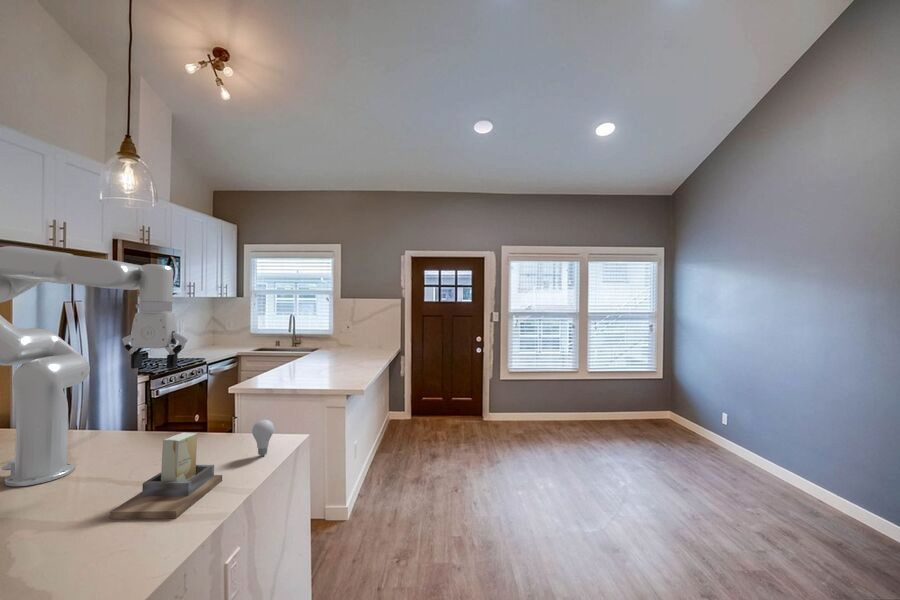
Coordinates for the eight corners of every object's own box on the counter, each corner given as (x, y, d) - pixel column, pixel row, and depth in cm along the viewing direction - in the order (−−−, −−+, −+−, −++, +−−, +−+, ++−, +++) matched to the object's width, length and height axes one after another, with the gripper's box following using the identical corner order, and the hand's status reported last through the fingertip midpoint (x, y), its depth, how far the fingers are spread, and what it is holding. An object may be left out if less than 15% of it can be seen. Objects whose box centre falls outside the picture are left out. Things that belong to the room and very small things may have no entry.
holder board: (109, 518, 82) (110, 497, 83) (167, 480, 100) (168, 463, 101) (176, 518, 83) (176, 497, 83) (222, 480, 101) (222, 463, 101)
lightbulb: (258, 461, 114) (259, 424, 114) (247, 456, 117) (248, 420, 117) (277, 454, 119) (278, 419, 119) (266, 450, 122) (266, 416, 123)
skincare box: (175, 492, 91) (177, 441, 92) (159, 491, 92) (161, 440, 92) (196, 480, 98) (198, 432, 98) (181, 479, 98) (182, 431, 98)
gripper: (113, 307, 105) (111, 369, 104) (178, 308, 106) (176, 370, 105) (135, 307, 112) (133, 365, 112) (195, 308, 113) (193, 366, 113)
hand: (154, 367), depth 109 cm, fingers open, 9 cm apart
